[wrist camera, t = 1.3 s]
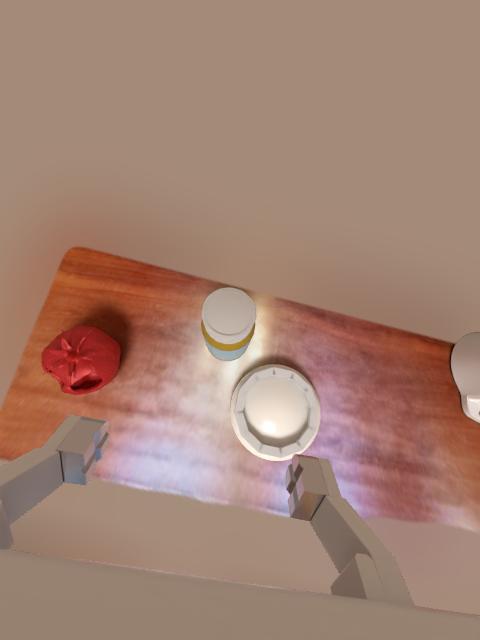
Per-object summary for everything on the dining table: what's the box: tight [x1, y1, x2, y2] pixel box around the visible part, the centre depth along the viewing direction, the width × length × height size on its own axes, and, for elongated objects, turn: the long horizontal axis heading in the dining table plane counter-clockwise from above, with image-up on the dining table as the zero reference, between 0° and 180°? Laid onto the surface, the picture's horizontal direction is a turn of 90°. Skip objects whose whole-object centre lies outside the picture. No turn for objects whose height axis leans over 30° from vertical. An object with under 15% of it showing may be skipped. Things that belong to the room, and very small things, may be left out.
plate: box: [230, 364, 320, 461], centre depth 39 cm, size 14×14×2 cm
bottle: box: [201, 287, 256, 361], centre depth 36 cm, size 7×7×15 cm
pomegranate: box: [41, 326, 121, 395], centre depth 36 cm, size 10×10×9 cm
